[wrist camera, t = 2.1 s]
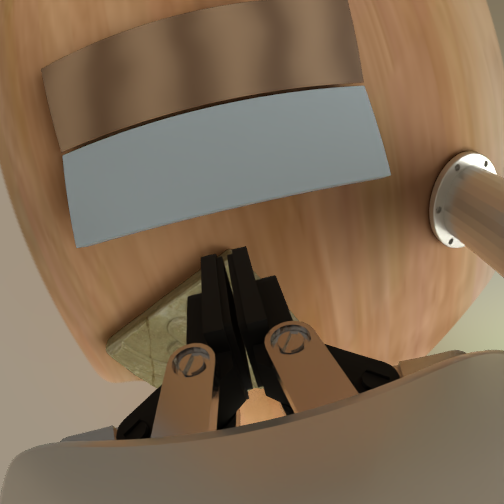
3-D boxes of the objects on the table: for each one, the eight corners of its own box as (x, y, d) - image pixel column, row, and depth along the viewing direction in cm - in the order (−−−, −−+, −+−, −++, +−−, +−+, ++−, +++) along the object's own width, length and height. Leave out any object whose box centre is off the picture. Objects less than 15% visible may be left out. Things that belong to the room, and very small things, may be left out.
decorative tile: (106, 336, 34) (100, 356, 31) (229, 242, 31) (232, 260, 27) (205, 402, 43) (206, 420, 40) (318, 339, 39) (326, 358, 36)
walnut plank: (336, 4, 20) (346, -2, 18) (352, 82, 24) (363, 82, 22) (52, 70, 19) (41, 69, 17) (71, 147, 23) (61, 152, 21)
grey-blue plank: (356, 94, 24) (364, 85, 22) (380, 178, 24) (391, 175, 22) (73, 160, 23) (62, 155, 21) (87, 246, 24) (76, 248, 22)
